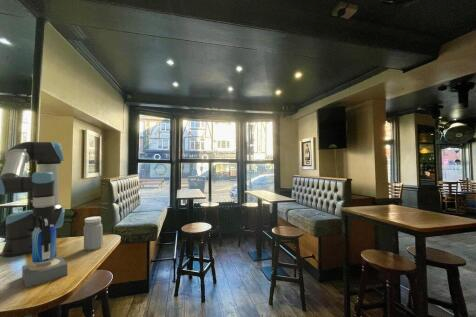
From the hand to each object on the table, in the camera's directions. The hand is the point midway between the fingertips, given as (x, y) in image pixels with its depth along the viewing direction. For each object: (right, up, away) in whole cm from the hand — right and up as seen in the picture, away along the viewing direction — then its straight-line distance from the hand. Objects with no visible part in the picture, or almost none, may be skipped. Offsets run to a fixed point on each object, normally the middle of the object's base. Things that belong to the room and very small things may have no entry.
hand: (44, 256), depth 103 cm
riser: (0, -9, 0) cm, 9 cm away
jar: (+1, -9, +33) cm, 34 cm away
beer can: (0, -3, 0) cm, 3 cm away
